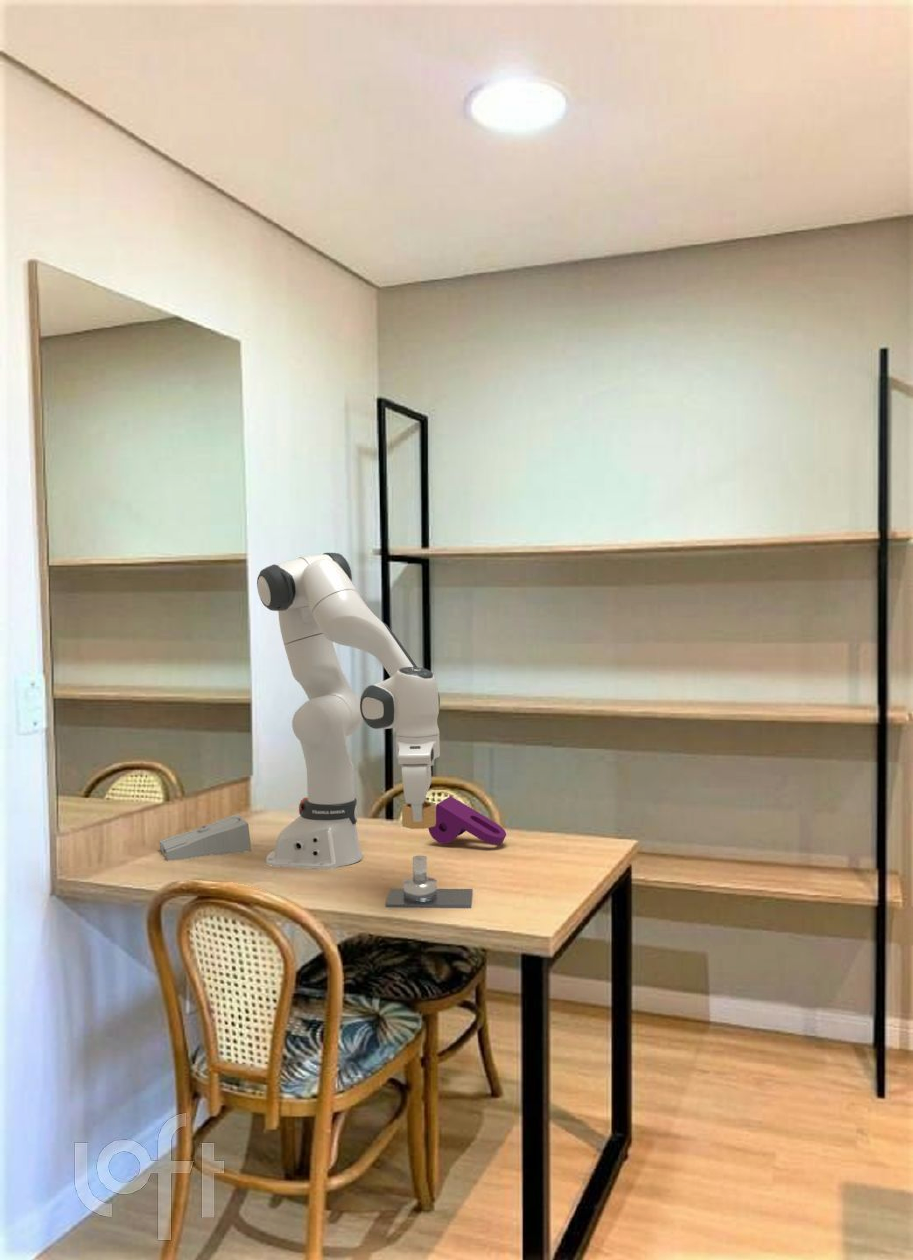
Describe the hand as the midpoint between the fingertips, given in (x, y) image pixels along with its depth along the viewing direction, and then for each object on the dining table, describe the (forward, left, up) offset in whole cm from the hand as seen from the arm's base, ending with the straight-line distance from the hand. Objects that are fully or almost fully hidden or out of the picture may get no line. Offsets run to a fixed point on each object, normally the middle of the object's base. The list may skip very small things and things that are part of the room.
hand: (419, 816), depth 197 cm
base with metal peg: (+2, 0, -17) cm, 18 cm away
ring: (0, 0, -2) cm, 2 cm away
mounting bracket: (+16, +44, -20) cm, 51 cm away
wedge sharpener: (-56, +38, -18) cm, 70 cm away
